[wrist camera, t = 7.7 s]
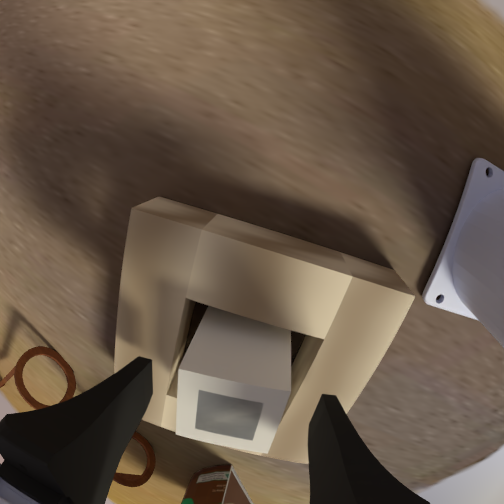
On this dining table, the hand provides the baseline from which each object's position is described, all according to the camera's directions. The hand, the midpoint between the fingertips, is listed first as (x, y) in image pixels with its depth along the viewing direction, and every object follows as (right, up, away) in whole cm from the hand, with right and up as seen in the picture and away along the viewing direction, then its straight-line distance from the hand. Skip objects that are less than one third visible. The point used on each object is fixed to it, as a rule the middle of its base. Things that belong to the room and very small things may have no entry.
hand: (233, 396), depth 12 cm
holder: (0, +1, +4) cm, 5 cm away
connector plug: (0, +2, +4) cm, 5 cm away
